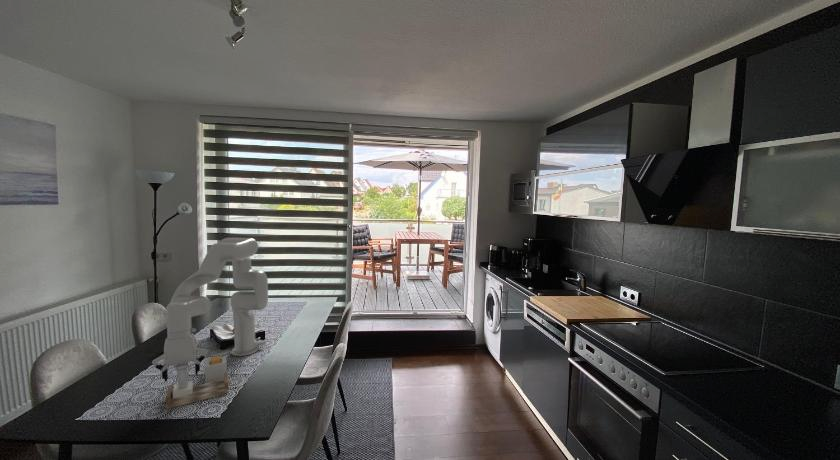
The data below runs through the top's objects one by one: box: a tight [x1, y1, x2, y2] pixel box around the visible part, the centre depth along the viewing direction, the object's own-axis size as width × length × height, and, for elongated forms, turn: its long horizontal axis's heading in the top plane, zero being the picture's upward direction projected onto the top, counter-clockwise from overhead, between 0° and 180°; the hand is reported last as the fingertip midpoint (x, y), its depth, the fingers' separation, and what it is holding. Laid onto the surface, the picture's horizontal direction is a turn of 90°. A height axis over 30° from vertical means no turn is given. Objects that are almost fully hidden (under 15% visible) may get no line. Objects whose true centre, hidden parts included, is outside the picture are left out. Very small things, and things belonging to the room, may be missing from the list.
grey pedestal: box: [173, 362, 194, 398], centre depth 128 cm, size 6×7×11 cm
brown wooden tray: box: [165, 372, 229, 410], centre depth 131 cm, size 20×9×4 cm, turn 122°
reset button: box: [210, 355, 221, 365], centre depth 142 cm, size 4×4×3 cm
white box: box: [204, 355, 228, 384], centre depth 142 cm, size 8×7×8 cm
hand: (181, 376), depth 127 cm, fingers open, 9 cm apart
